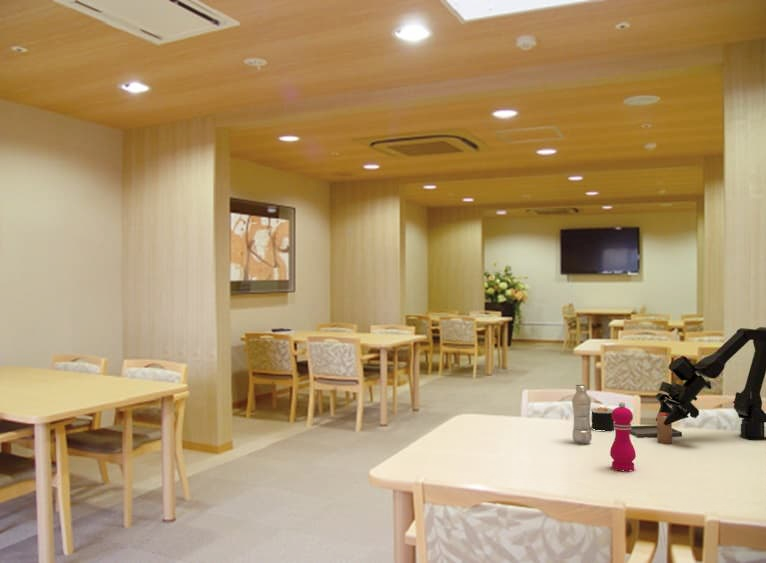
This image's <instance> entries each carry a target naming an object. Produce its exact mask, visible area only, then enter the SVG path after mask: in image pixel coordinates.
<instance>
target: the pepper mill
mask: <svg viewBox="0 0 766 563" xmlns="http://www.w3.org/2000/svg"><path fill="white" fill-rule="evenodd" d="M612 410H613V411H612V419H613V420H614V430H615V433H614V434H615V437H614V440H613V442H612V445H611V447H610V451H609V456H610V458H611V459H612V461H611V469H613V468H614V469H617V470H624V471H628V472H631V471H630V470H633V471H634V470H635V463H634V462H633V461H634V460H636V456H637V455H636V454H637V453H636V450H635V447H634V445H633V444H632V441H631V437H630V435H631V434H630V429H631V426H632V424H631V422H632V421H633V419H634V415H633V412H632V411H631V409H630V408H628V407H626V404H625V401H620V402H619V403H618V407H616V408H614V409H612ZM614 469H613V470H614ZM617 470H616V471H617ZM624 471H623V472H624Z"/></svg>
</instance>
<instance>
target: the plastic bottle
mask: <svg viewBox="0 0 766 563" xmlns="http://www.w3.org/2000/svg"><path fill="white" fill-rule="evenodd" d="M587 391H588V388H587V385H586V384H575V393H574V394H573V396H572V399H571V404H572V410H573V412H572V413H573V428H572V440H573V441H574V443H578V444H581V443H583V444H590V442H591V441H592V437H593V436H592V430H591V421H590V418H591V417H590V416H591V415H590V414H591V413H590V412H591V406H592V405H591V404H592V403H591V402H592V400H591V398H590V397H591V396H590V395H588V393H587Z"/></svg>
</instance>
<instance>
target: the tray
mask: <svg viewBox="0 0 766 563" xmlns="http://www.w3.org/2000/svg"><path fill="white" fill-rule="evenodd" d="M629 434H630V435H632V436H634V437H635V438H638V439H640V438H641V439H642V438H644V437H648V438H657V424H655V425H652V424H651V425H650V424H649V425H631V429H630V433H629ZM673 437H683V432H682V431H680V430H677V429H675V428H673V427H672V438H673ZM644 439H645V438H644Z"/></svg>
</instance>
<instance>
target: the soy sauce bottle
mask: <svg viewBox="0 0 766 563" xmlns="http://www.w3.org/2000/svg"><path fill="white" fill-rule="evenodd" d="M668 415H669V413H666V412H660V414H658V413H657V414H656V418H657V421H656V423H657V424H656V425H657V437H656V438H657V441H656V442H657V444H658V443H659V444H663V445H670V444H672V443H673V437H672V428H673V425H672V424H673V423H671V424H668V425H664V421H665V420H666V418H667V417H668Z"/></svg>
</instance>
